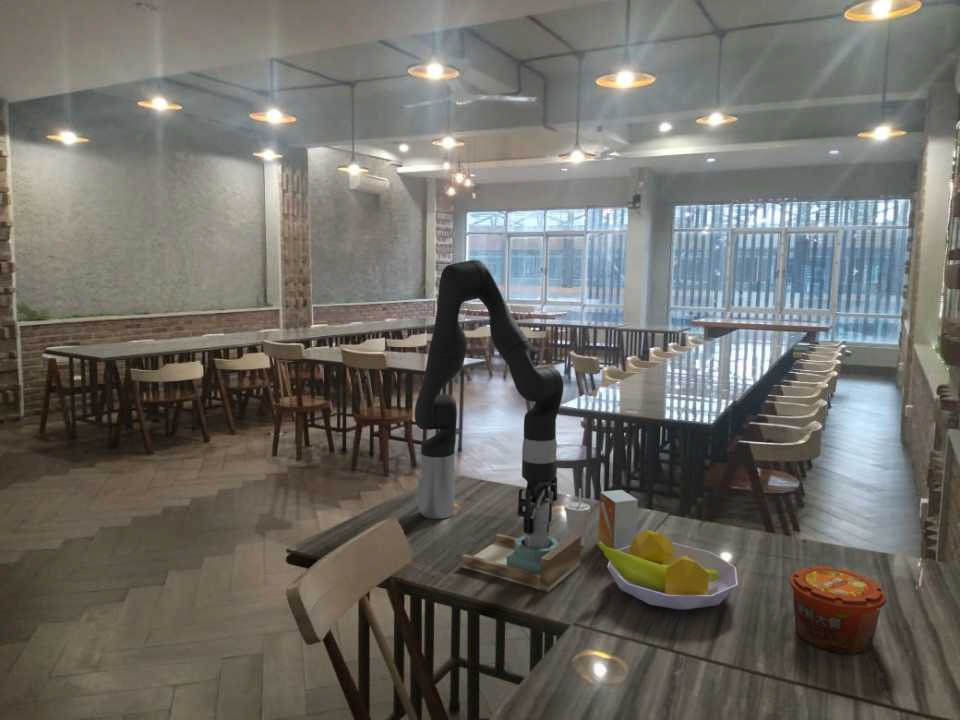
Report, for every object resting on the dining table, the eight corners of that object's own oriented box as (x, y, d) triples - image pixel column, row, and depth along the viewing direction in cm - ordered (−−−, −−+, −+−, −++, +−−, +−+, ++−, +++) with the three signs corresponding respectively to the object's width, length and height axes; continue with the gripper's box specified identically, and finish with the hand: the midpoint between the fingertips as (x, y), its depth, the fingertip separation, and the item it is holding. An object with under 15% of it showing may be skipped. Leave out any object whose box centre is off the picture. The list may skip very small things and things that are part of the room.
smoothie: (591, 549, 170) (592, 493, 169) (564, 548, 171) (566, 493, 169) (587, 538, 177) (589, 485, 175) (562, 538, 177) (563, 484, 175)
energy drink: (548, 549, 160) (549, 498, 159) (548, 558, 155) (549, 506, 153) (525, 547, 161) (526, 497, 159) (524, 557, 156) (525, 505, 154)
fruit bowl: (732, 575, 157) (735, 526, 155) (738, 635, 131) (741, 578, 130) (607, 558, 165) (608, 512, 164) (588, 612, 140) (590, 558, 138)
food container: (799, 607, 142) (803, 557, 141) (889, 633, 132) (894, 580, 131) (774, 639, 130) (778, 584, 129) (871, 671, 120) (877, 612, 118)
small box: (597, 541, 175) (599, 491, 173) (620, 538, 177) (622, 489, 175) (613, 554, 167) (615, 502, 166) (636, 551, 169) (638, 499, 168)
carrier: (506, 567, 157) (506, 545, 156) (527, 552, 165) (528, 531, 164) (546, 578, 151) (546, 555, 151) (566, 562, 160) (567, 540, 159)
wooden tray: (462, 567, 160) (462, 537, 159) (498, 544, 173) (498, 516, 172) (548, 591, 148) (549, 560, 147) (580, 565, 161) (580, 535, 160)
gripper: (539, 467, 147) (537, 541, 149) (568, 452, 159) (566, 521, 161) (508, 462, 151) (507, 534, 153) (539, 447, 163) (537, 514, 165)
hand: (537, 527), depth 157 cm, fingers open, 8 cm apart
